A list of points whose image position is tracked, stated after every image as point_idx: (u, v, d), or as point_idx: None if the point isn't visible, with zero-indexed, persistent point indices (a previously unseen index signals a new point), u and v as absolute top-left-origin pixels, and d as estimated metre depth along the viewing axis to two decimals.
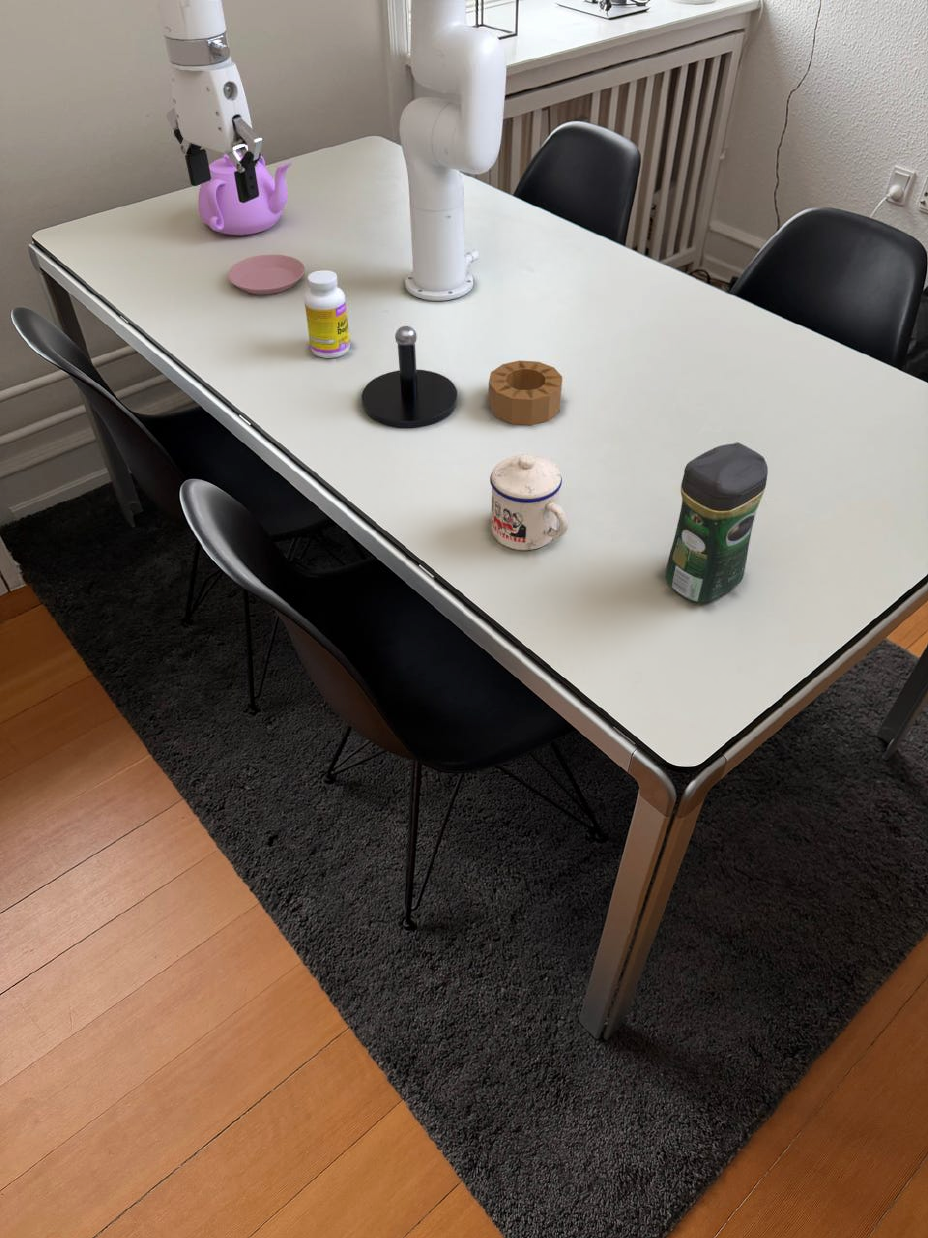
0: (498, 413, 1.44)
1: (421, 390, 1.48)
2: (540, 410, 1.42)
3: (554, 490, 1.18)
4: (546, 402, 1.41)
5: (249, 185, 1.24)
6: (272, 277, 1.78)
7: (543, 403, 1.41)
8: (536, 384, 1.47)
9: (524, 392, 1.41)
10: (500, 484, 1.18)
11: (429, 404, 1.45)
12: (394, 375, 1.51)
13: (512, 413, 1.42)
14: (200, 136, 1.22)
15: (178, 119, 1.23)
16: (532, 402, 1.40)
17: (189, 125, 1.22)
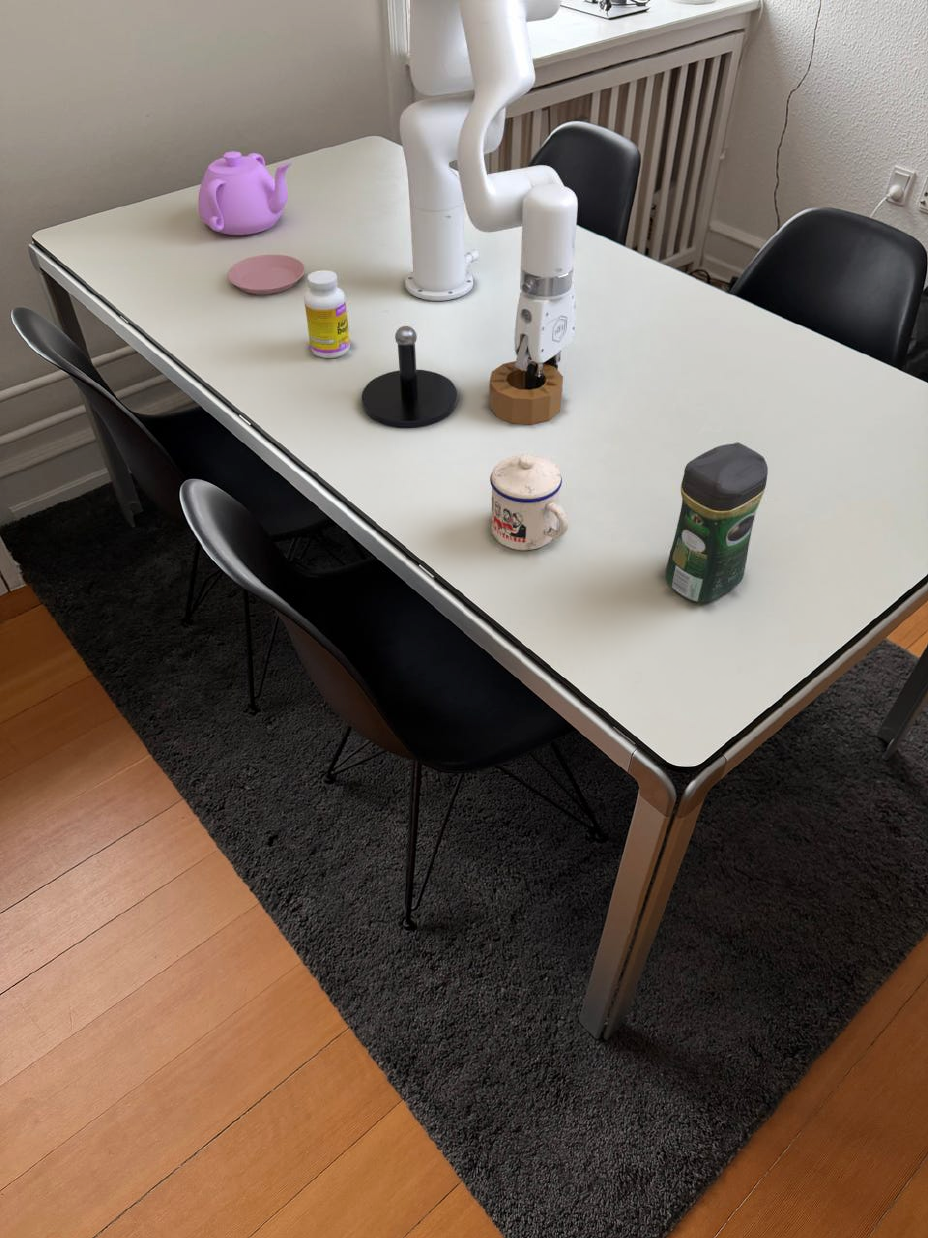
0: (499, 412, 1.44)
1: (421, 390, 1.48)
2: (541, 410, 1.42)
3: (554, 490, 1.18)
4: (547, 402, 1.41)
5: (528, 385, 1.46)
6: (272, 277, 1.78)
7: (544, 403, 1.41)
8: None
9: (525, 392, 1.41)
10: (500, 484, 1.18)
11: (429, 404, 1.45)
12: (394, 375, 1.51)
13: (513, 412, 1.42)
14: None
15: None
16: (533, 401, 1.40)
17: None
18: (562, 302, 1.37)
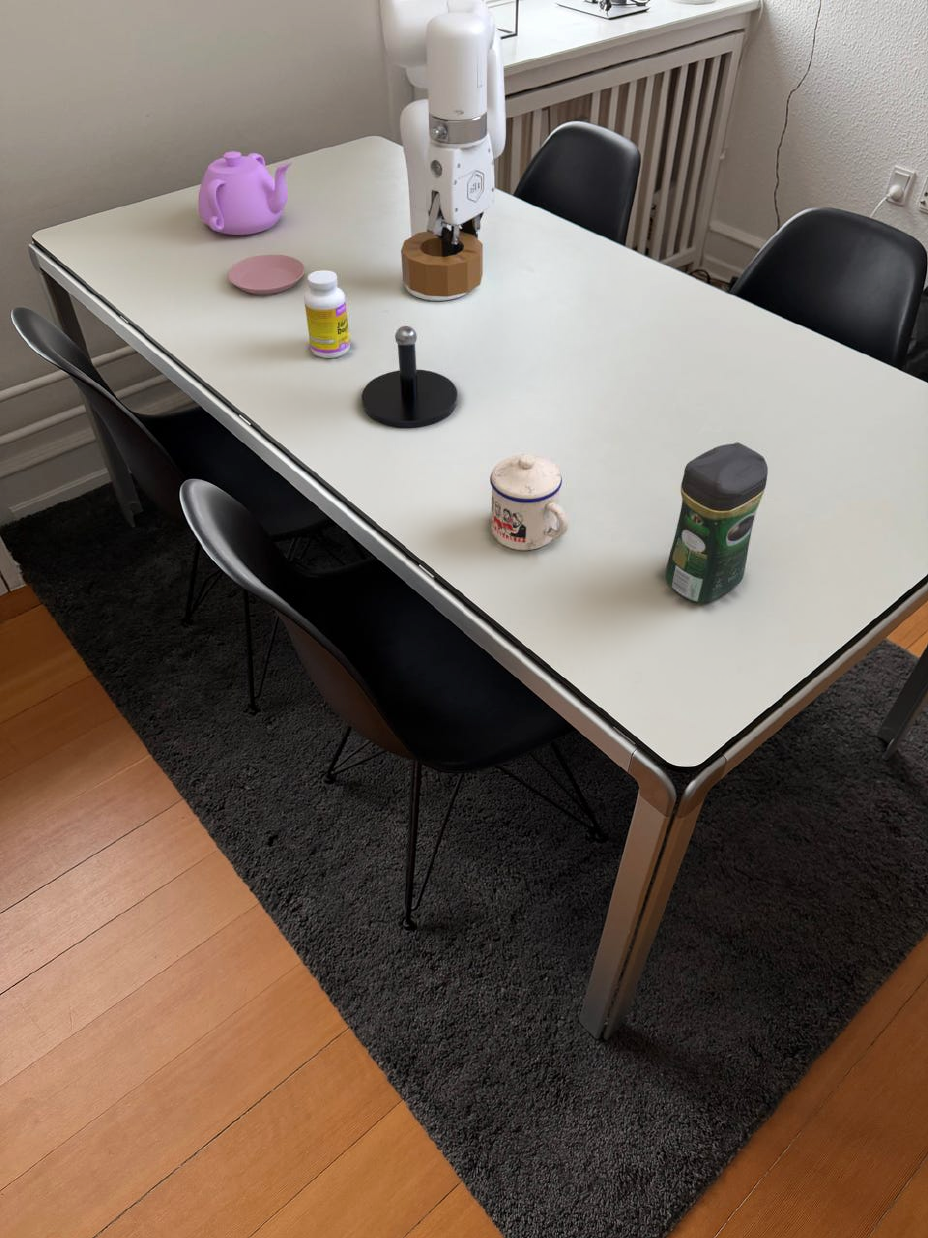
0: (412, 284, 1.30)
1: (421, 390, 1.48)
2: (457, 279, 1.28)
3: (554, 490, 1.18)
4: (464, 269, 1.28)
5: (445, 255, 1.33)
6: (272, 277, 1.78)
7: (460, 270, 1.28)
8: None
9: (439, 258, 1.28)
10: (500, 484, 1.18)
11: (429, 404, 1.45)
12: (394, 375, 1.51)
13: (427, 282, 1.29)
14: None
15: None
16: (448, 268, 1.27)
17: None
18: (476, 154, 1.23)
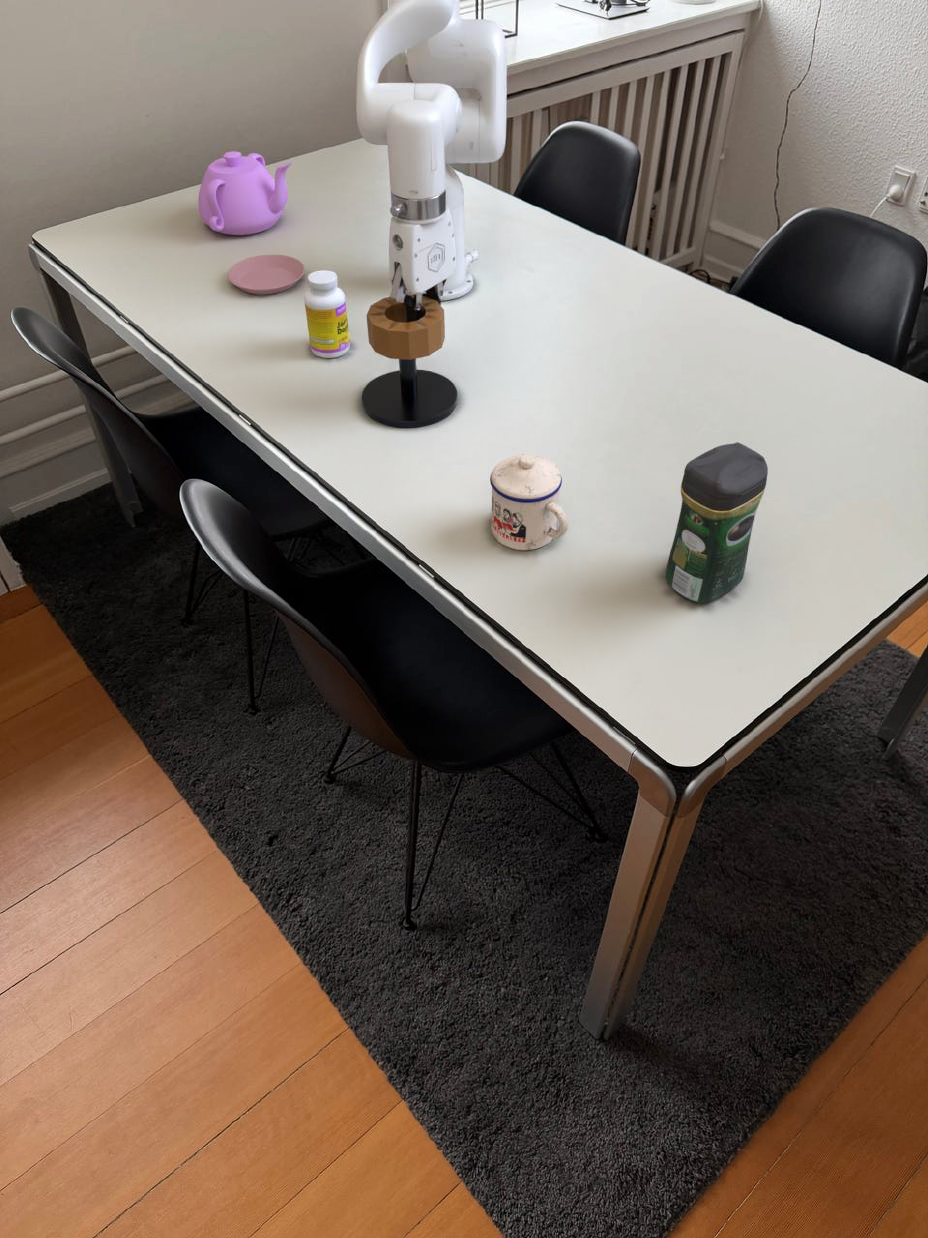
0: (377, 347, 1.38)
1: (421, 390, 1.48)
2: (419, 343, 1.36)
3: (554, 490, 1.18)
4: (424, 335, 1.35)
5: (409, 319, 1.40)
6: (272, 277, 1.78)
7: (421, 336, 1.35)
8: None
9: (401, 324, 1.35)
10: (500, 484, 1.18)
11: (429, 404, 1.45)
12: (394, 375, 1.51)
13: (390, 347, 1.36)
14: None
15: None
16: (409, 334, 1.34)
17: None
18: (436, 228, 1.31)
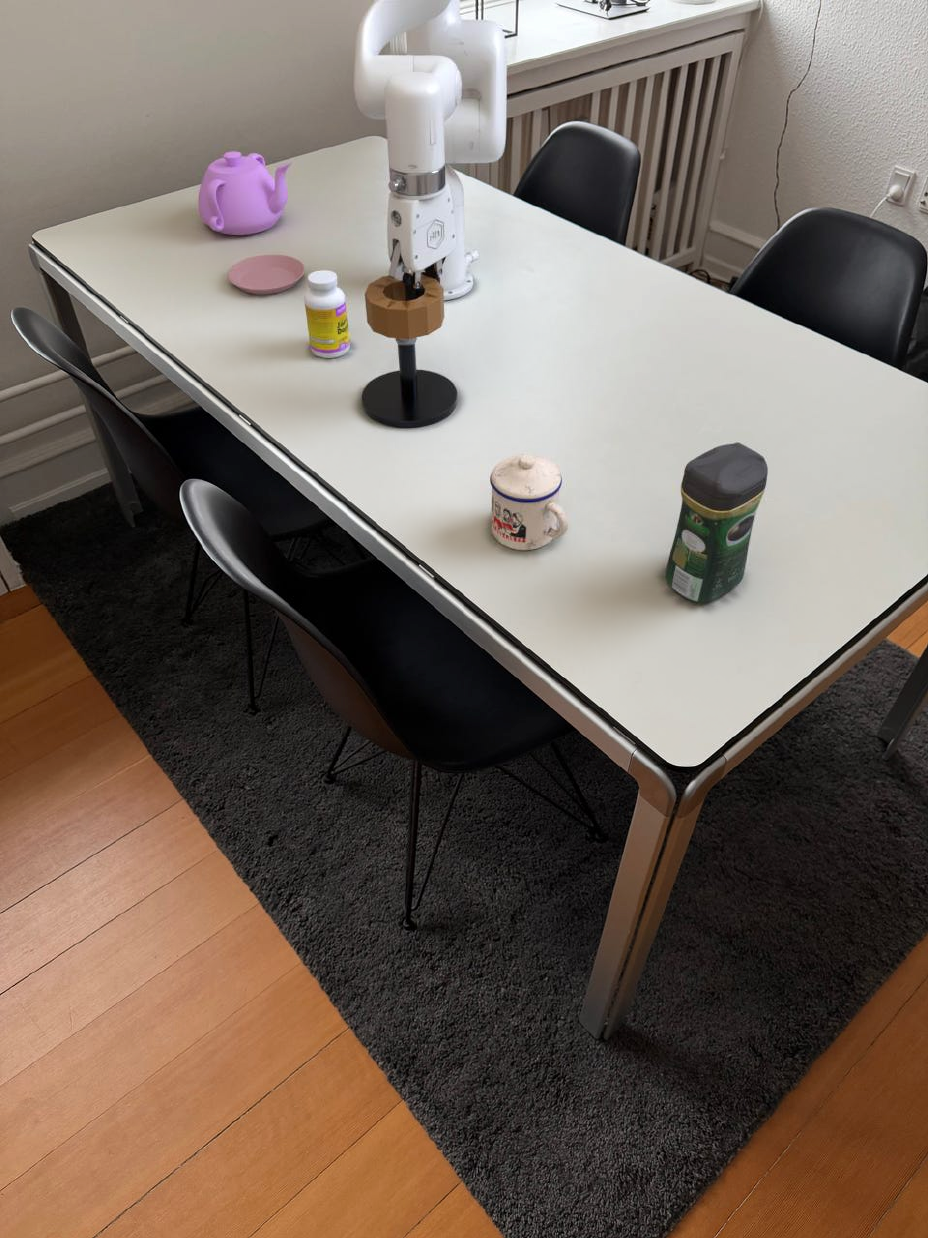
0: (375, 326, 1.36)
1: (421, 390, 1.48)
2: (418, 322, 1.34)
3: (554, 490, 1.18)
4: (424, 313, 1.33)
5: (408, 298, 1.38)
6: (272, 277, 1.78)
7: (420, 314, 1.33)
8: None
9: (400, 303, 1.33)
10: (500, 484, 1.18)
11: (429, 404, 1.45)
12: (394, 375, 1.51)
13: (388, 325, 1.34)
14: None
15: None
16: (408, 312, 1.32)
17: None
18: (435, 204, 1.28)
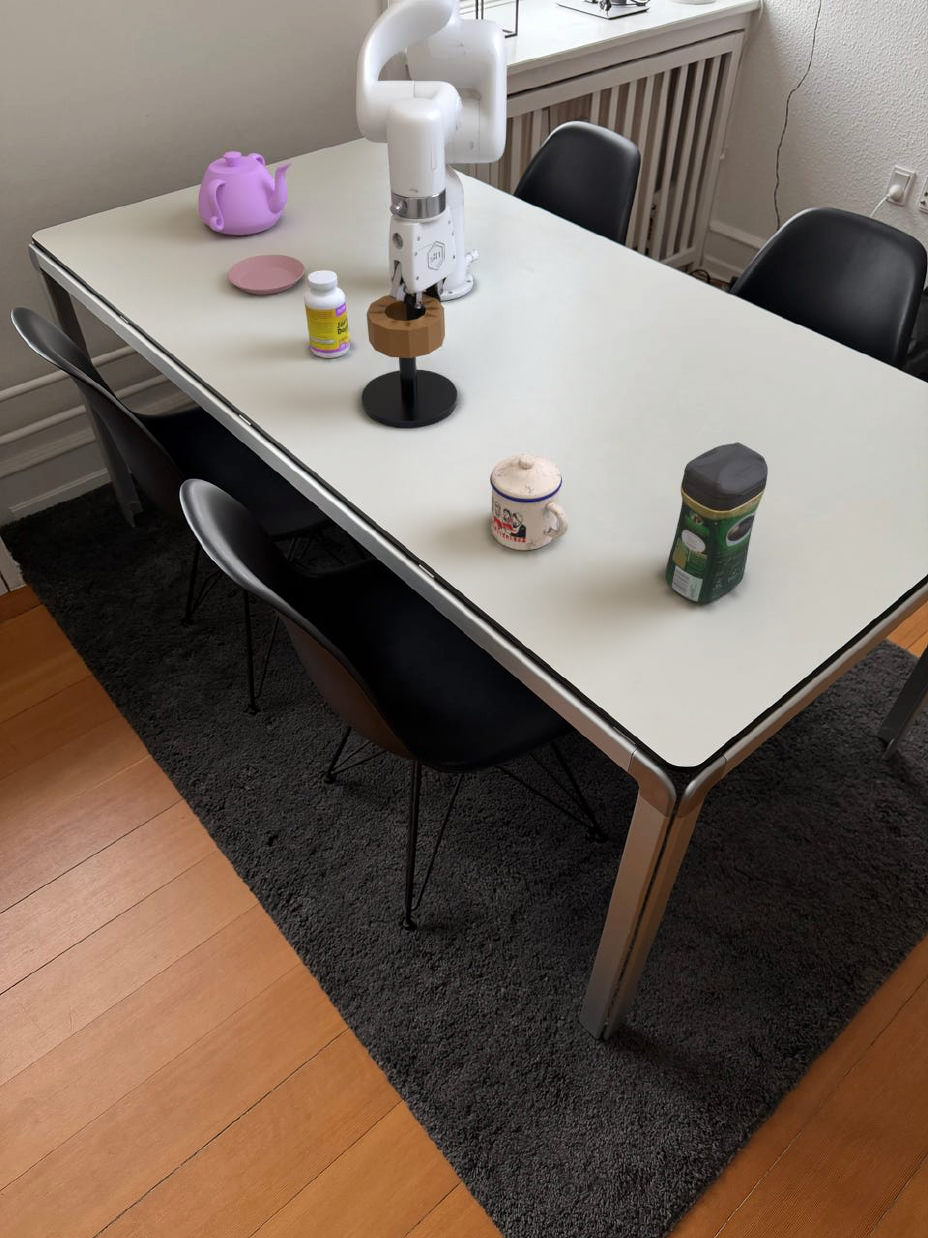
0: (377, 346, 1.38)
1: (421, 390, 1.48)
2: (419, 342, 1.36)
3: (554, 490, 1.18)
4: (424, 333, 1.35)
5: (409, 317, 1.40)
6: (272, 277, 1.78)
7: (421, 334, 1.35)
8: None
9: (401, 323, 1.35)
10: (500, 484, 1.18)
11: (429, 404, 1.45)
12: (394, 375, 1.51)
13: (390, 345, 1.36)
14: None
15: None
16: (409, 332, 1.34)
17: None
18: (436, 226, 1.31)
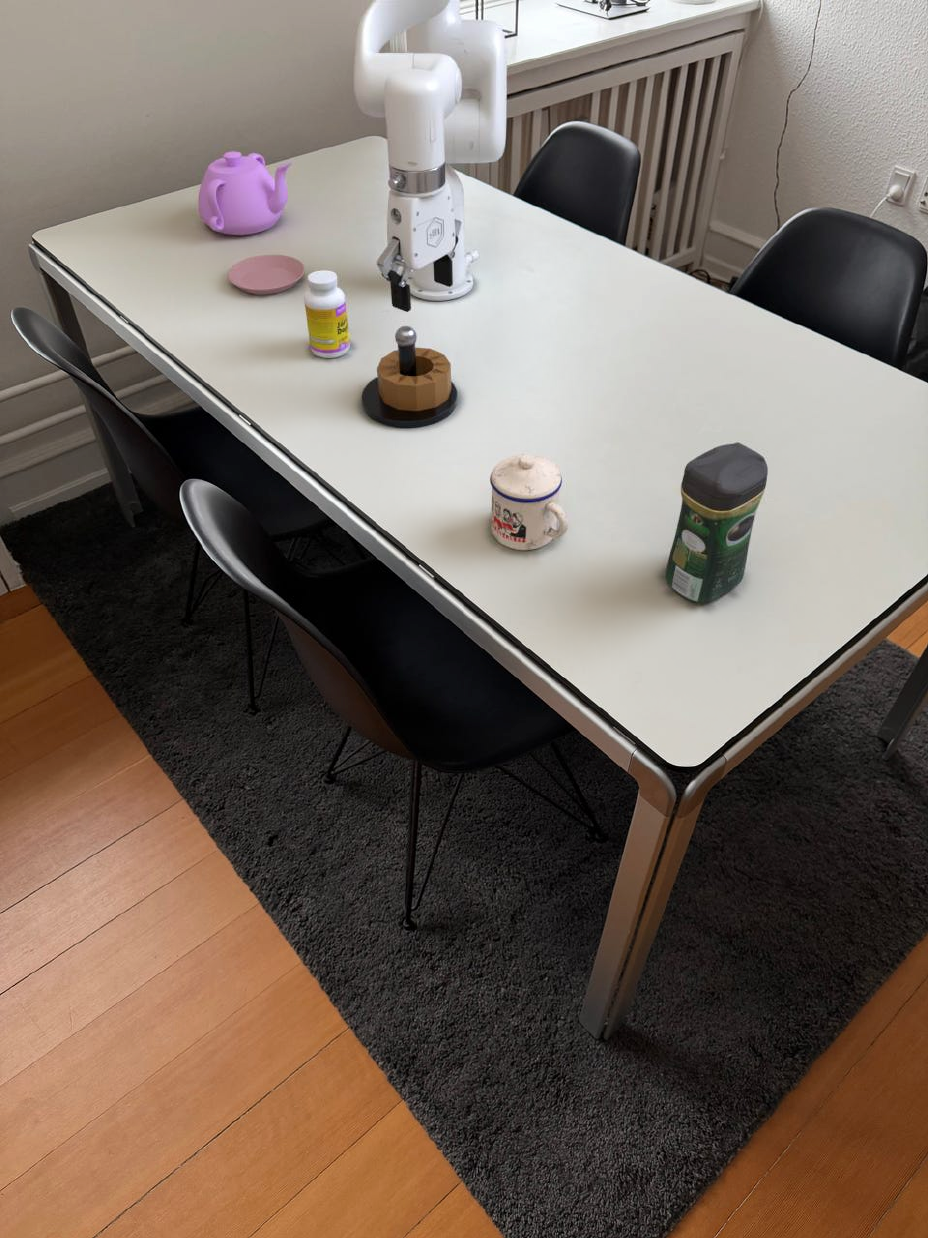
0: (386, 399, 1.45)
1: None
2: (426, 396, 1.43)
3: (554, 490, 1.18)
4: (431, 388, 1.42)
5: (394, 296, 1.35)
6: (272, 277, 1.78)
7: (428, 389, 1.42)
8: (427, 371, 1.48)
9: (410, 378, 1.42)
10: (500, 484, 1.18)
11: None
12: None
13: (398, 399, 1.43)
14: None
15: None
16: (417, 388, 1.41)
17: None
18: (435, 202, 1.28)
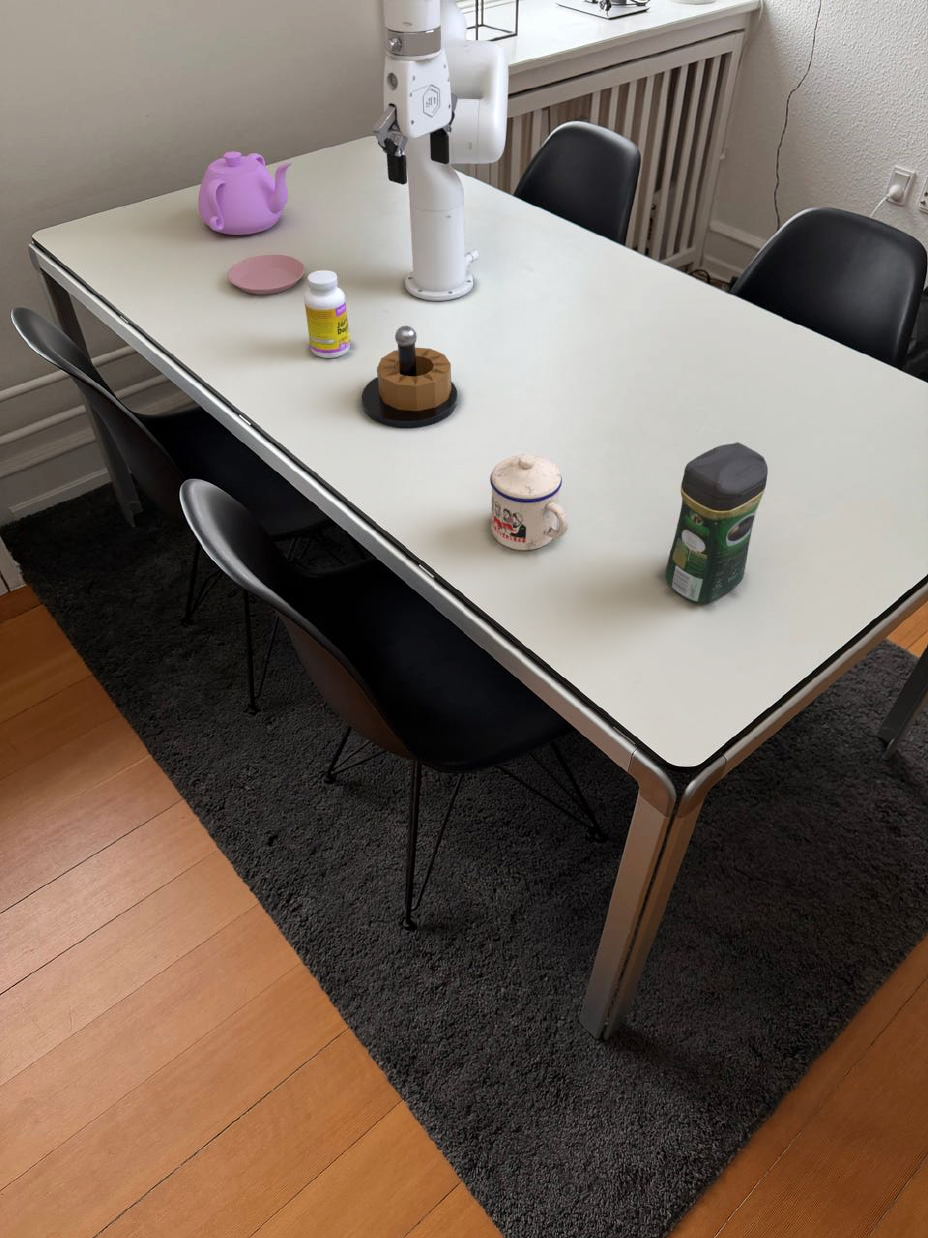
0: (386, 399, 1.45)
1: None
2: (426, 396, 1.43)
3: (554, 490, 1.18)
4: (431, 388, 1.42)
5: (390, 168, 1.36)
6: (272, 277, 1.78)
7: (428, 389, 1.42)
8: (427, 371, 1.48)
9: (410, 378, 1.42)
10: (500, 484, 1.18)
11: None
12: None
13: (398, 399, 1.43)
14: None
15: None
16: (417, 388, 1.41)
17: None
18: (431, 68, 1.29)
